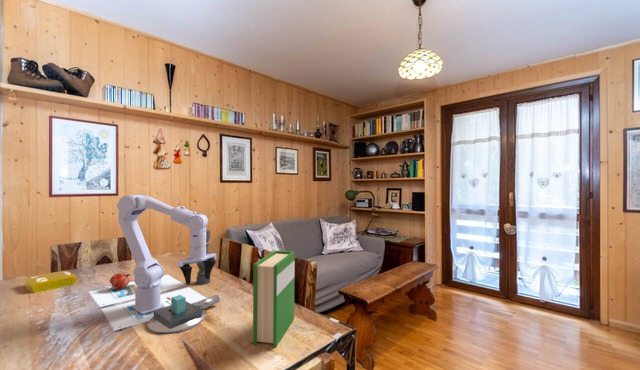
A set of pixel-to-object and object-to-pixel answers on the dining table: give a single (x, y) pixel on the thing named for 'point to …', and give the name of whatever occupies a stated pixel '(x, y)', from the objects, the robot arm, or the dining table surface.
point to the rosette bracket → (180, 317)
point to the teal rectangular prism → (178, 304)
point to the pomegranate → (119, 281)
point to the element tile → (50, 281)
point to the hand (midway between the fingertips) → (197, 281)
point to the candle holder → (201, 273)
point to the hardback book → (273, 296)
